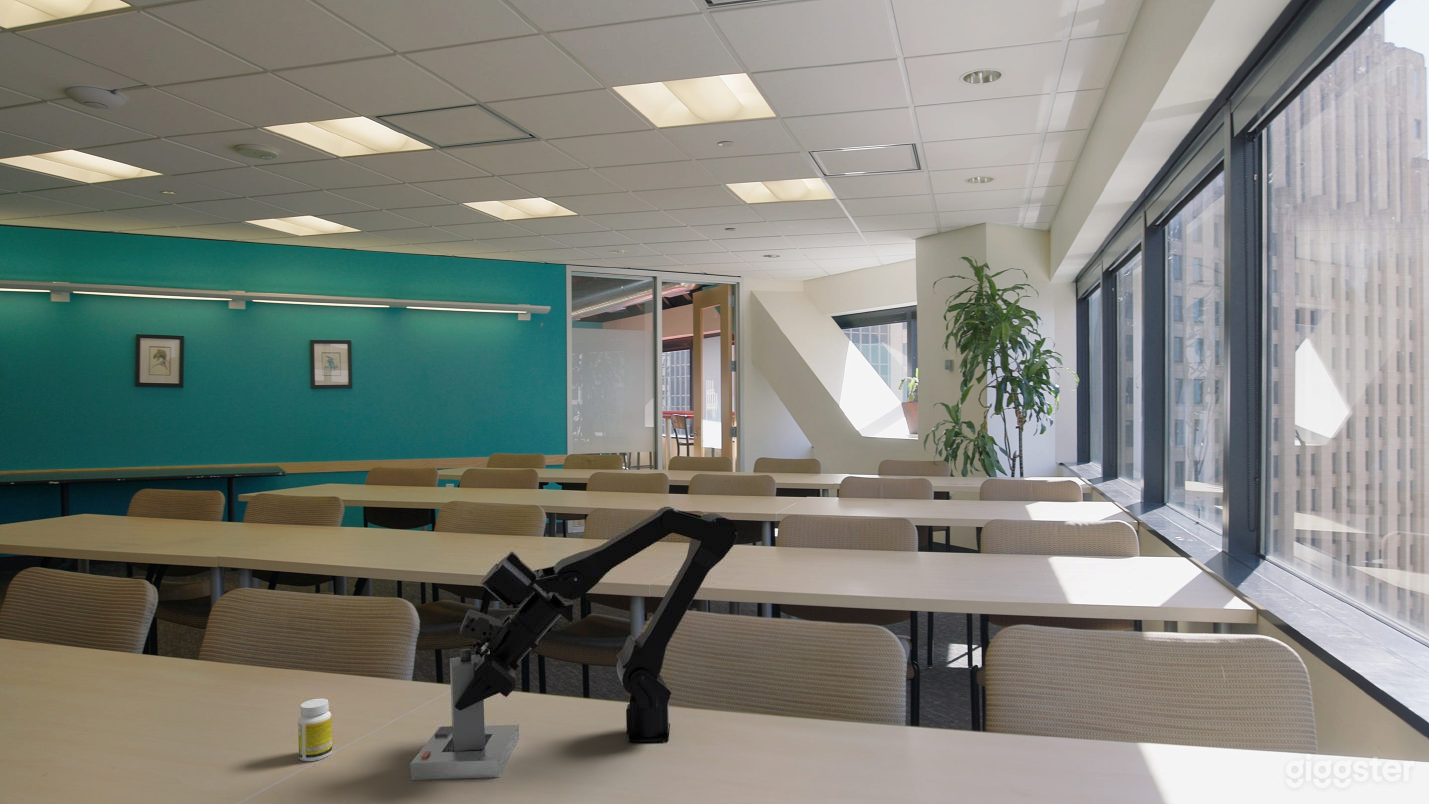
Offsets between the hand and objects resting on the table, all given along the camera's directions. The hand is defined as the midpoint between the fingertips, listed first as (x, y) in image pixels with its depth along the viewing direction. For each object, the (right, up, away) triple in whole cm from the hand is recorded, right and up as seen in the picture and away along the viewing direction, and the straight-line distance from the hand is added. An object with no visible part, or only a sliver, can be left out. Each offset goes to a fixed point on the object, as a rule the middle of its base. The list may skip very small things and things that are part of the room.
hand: (458, 702), depth 123 cm
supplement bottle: (-24, -10, +3) cm, 26 cm away
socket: (+1, -9, 0) cm, 9 cm away
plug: (+2, -7, 0) cm, 7 cm away
